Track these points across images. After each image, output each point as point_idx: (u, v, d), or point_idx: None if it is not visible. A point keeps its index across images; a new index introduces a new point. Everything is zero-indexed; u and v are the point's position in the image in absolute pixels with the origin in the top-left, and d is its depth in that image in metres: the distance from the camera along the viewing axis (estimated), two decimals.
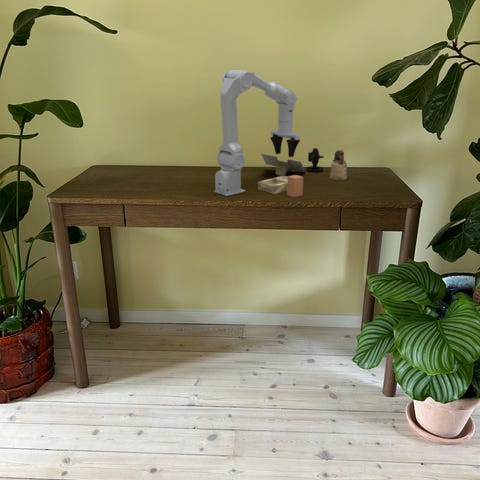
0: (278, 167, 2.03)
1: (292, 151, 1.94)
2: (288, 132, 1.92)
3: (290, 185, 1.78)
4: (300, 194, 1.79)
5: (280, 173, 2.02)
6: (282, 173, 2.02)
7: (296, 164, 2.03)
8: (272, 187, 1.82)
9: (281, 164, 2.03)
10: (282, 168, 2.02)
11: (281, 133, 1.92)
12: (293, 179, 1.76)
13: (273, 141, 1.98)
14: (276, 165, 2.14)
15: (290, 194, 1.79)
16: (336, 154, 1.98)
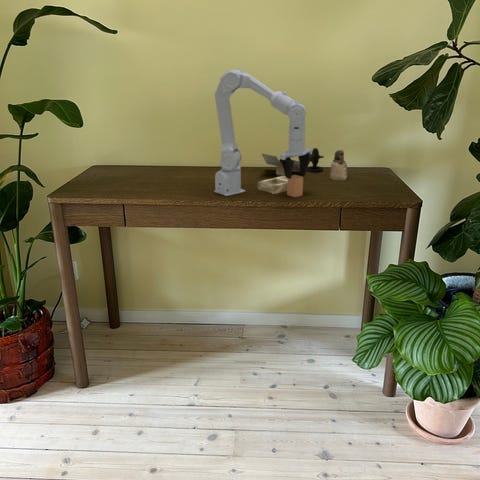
0: (278, 167, 2.03)
1: (287, 172, 1.74)
2: (289, 150, 1.73)
3: (290, 185, 1.78)
4: (300, 194, 1.79)
5: (280, 173, 2.02)
6: (282, 173, 2.02)
7: (296, 164, 2.03)
8: (272, 187, 1.82)
9: (281, 164, 2.02)
10: (282, 168, 2.02)
11: None
12: (293, 179, 1.76)
13: None
14: (277, 165, 2.14)
15: (290, 194, 1.79)
16: (336, 154, 1.98)
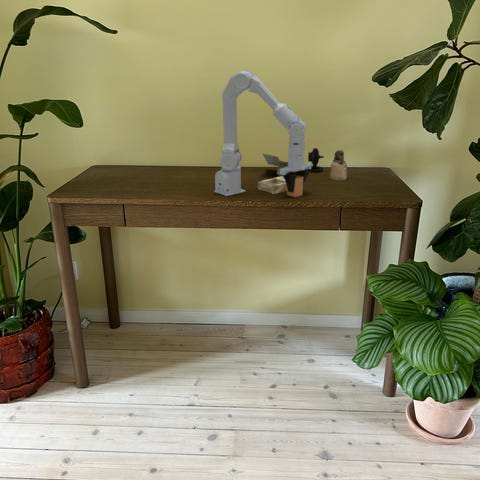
0: (279, 167, 2.03)
1: (290, 186, 1.77)
2: (289, 165, 1.75)
3: None
4: (300, 194, 1.79)
5: None
6: None
7: None
8: (272, 187, 1.82)
9: (282, 164, 2.02)
10: None
11: None
12: None
13: None
14: (278, 165, 2.14)
15: (290, 194, 1.79)
16: (336, 154, 1.98)
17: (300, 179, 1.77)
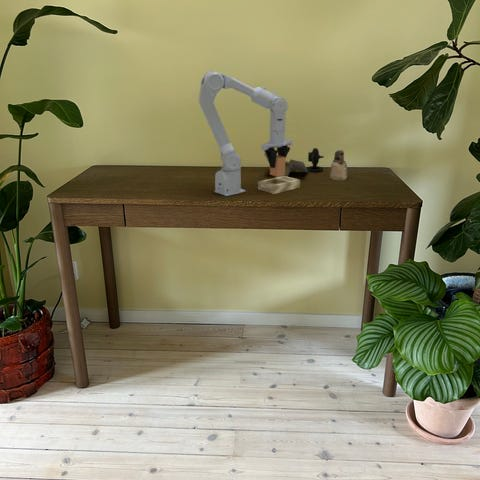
0: None
1: (271, 161, 1.82)
2: (270, 141, 1.80)
3: None
4: (282, 174, 1.85)
5: None
6: (285, 173, 2.02)
7: (299, 164, 2.02)
8: (272, 187, 1.82)
9: None
10: (285, 168, 2.02)
11: None
12: None
13: None
14: None
15: (272, 173, 1.85)
16: (336, 154, 1.98)
17: (282, 159, 1.82)
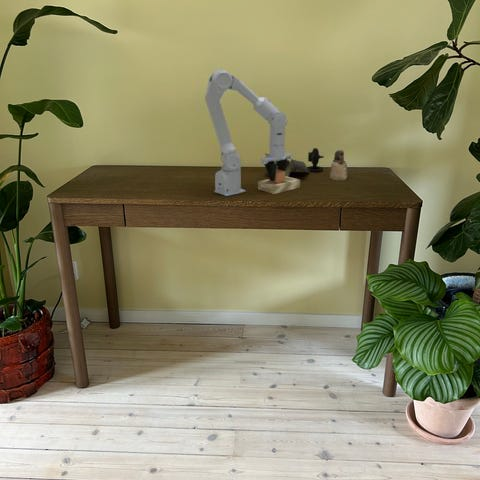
0: None
1: (271, 175, 1.84)
2: (270, 155, 1.82)
3: None
4: None
5: None
6: (285, 173, 2.02)
7: (300, 164, 2.02)
8: (272, 187, 1.82)
9: None
10: (286, 168, 2.02)
11: None
12: (275, 173, 1.84)
13: None
14: None
15: None
16: (336, 154, 1.98)
17: (282, 174, 1.85)
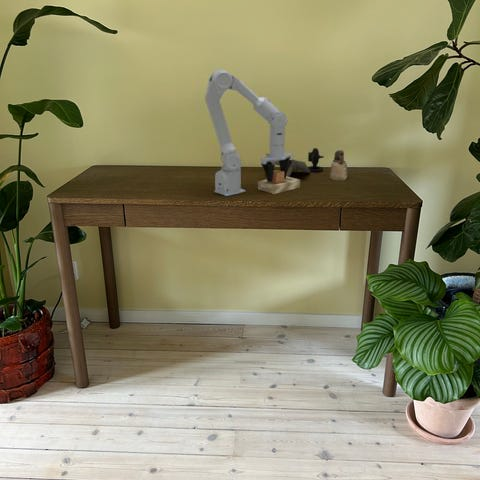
0: None
1: (268, 175, 1.84)
2: (270, 155, 1.82)
3: None
4: None
5: None
6: None
7: (301, 164, 2.02)
8: (272, 187, 1.82)
9: None
10: None
11: None
12: (274, 174, 1.84)
13: None
14: None
15: None
16: (336, 154, 1.98)
17: (281, 174, 1.85)
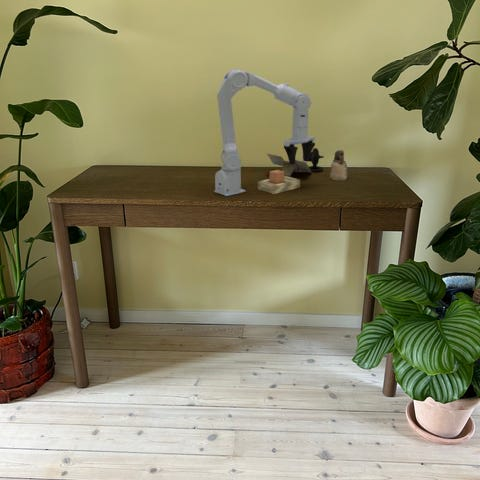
0: (284, 167, 2.03)
1: (291, 158, 1.82)
2: (293, 137, 1.81)
3: (272, 179, 1.86)
4: None
5: (285, 173, 2.02)
6: (287, 173, 2.02)
7: (302, 164, 2.02)
8: (272, 187, 1.82)
9: (287, 164, 2.02)
10: (288, 168, 2.02)
11: None
12: (274, 174, 1.84)
13: None
14: None
15: None
16: (336, 154, 1.98)
17: (281, 174, 1.85)
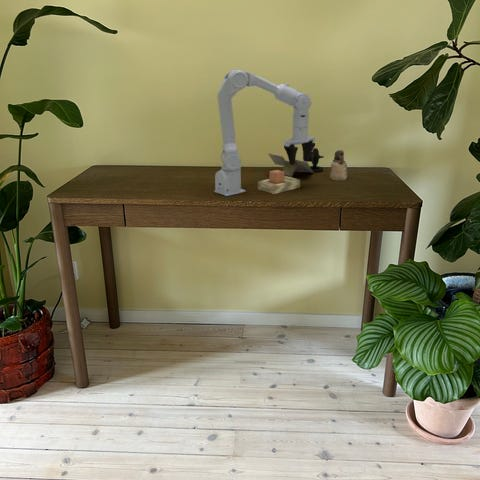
0: (285, 167, 2.03)
1: (291, 158, 1.82)
2: (293, 138, 1.81)
3: (272, 179, 1.86)
4: None
5: (287, 173, 2.02)
6: (289, 173, 2.02)
7: (303, 164, 2.02)
8: (272, 187, 1.82)
9: (288, 164, 2.02)
10: (289, 168, 2.02)
11: None
12: (274, 174, 1.84)
13: None
14: None
15: None
16: (336, 154, 1.98)
17: (281, 174, 1.85)
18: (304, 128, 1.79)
